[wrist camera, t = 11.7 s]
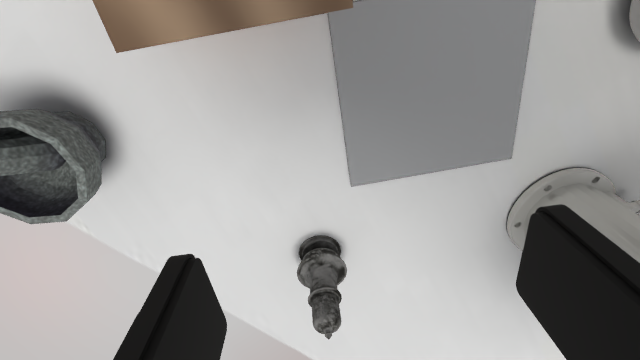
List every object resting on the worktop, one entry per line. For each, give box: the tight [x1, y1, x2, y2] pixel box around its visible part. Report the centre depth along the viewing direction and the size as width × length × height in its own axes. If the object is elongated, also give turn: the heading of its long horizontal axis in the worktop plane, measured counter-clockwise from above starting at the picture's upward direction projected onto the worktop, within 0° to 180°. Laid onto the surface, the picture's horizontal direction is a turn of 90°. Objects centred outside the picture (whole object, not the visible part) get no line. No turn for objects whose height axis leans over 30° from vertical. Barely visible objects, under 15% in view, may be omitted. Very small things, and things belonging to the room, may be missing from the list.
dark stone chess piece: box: [297, 236, 347, 339], centre depth 36 cm, size 6×6×12 cm
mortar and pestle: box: [0, 109, 106, 224], centre depth 26 cm, size 11×9×12 cm
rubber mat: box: [328, 0, 536, 187], centre depth 32 cm, size 18×18×1 cm
